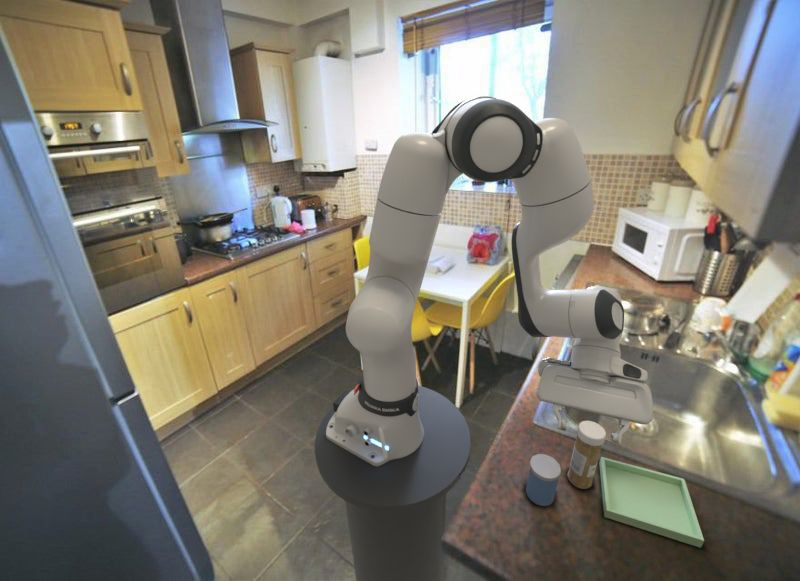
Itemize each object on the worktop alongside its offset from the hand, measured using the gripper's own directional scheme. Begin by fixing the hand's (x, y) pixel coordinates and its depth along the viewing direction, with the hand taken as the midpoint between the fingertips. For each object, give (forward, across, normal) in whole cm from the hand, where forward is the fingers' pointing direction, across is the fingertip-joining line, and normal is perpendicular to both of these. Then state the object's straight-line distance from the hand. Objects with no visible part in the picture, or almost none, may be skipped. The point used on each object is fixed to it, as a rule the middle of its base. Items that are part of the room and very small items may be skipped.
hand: (587, 436), depth 70 cm
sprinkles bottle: (+8, 0, +5) cm, 10 cm away
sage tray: (+8, +11, +5) cm, 15 cm away
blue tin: (+12, -7, +1) cm, 14 cm away
